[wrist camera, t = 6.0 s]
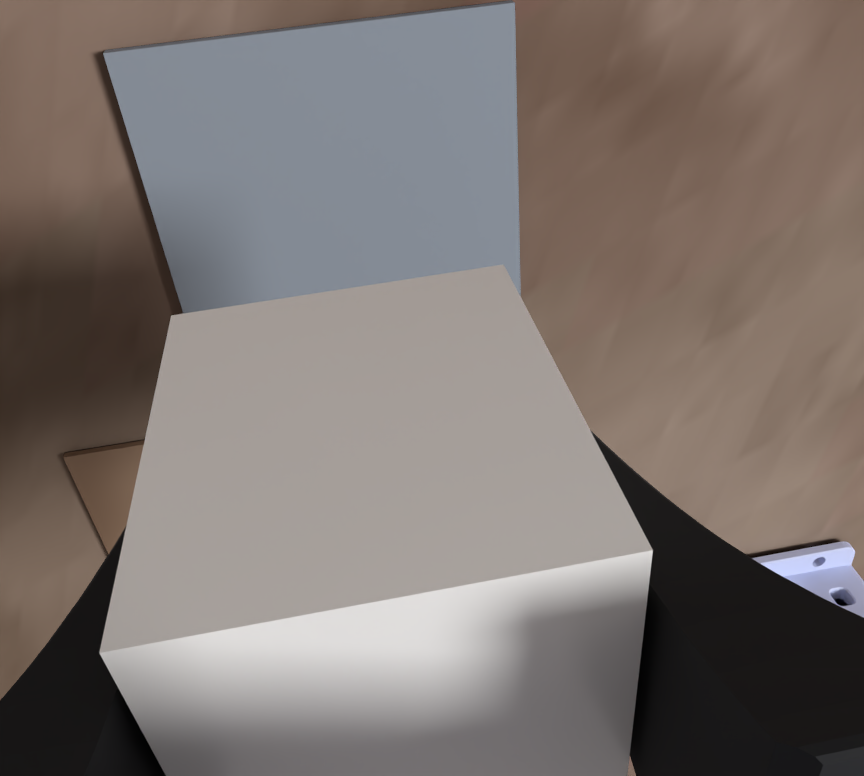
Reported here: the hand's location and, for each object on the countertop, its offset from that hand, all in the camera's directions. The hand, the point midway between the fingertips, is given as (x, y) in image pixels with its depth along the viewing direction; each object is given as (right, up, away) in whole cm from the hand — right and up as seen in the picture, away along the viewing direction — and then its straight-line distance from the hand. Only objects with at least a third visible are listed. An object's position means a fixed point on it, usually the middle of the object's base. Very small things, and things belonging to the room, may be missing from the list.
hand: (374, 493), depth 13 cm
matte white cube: (0, +1, +2) cm, 2 cm away
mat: (-1, +6, +7) cm, 9 cm away
